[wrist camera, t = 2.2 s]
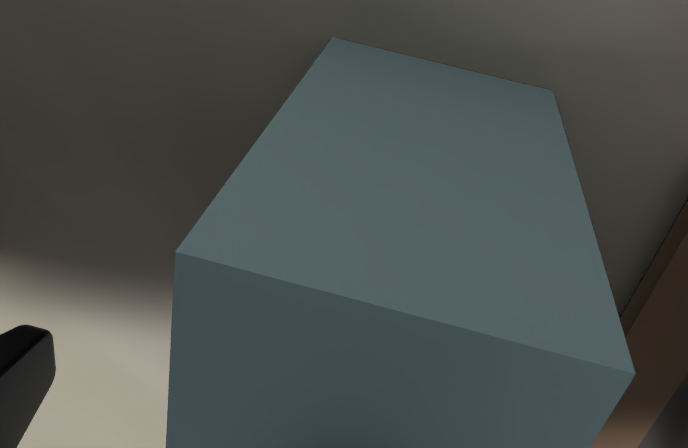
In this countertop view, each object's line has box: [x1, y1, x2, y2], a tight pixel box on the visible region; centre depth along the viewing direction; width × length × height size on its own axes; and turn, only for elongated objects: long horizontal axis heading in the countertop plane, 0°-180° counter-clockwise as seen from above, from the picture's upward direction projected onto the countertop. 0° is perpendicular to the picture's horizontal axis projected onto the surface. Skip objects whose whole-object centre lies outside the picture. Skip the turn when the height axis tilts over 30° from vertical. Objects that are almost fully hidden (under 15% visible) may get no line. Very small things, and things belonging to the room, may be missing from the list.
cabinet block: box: [166, 37, 635, 448], centre depth 10 cm, size 4×8×8 cm, turn 169°
